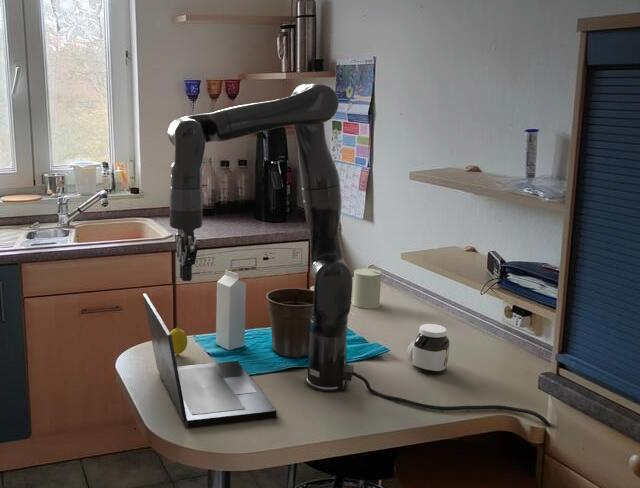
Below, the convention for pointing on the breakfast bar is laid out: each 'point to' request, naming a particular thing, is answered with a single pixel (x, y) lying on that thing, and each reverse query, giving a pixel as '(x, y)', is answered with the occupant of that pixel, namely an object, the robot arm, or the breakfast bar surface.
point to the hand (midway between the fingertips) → (185, 279)
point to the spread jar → (430, 349)
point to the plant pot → (290, 320)
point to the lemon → (179, 340)
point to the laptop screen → (165, 355)
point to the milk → (230, 311)
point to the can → (366, 288)
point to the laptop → (221, 395)
